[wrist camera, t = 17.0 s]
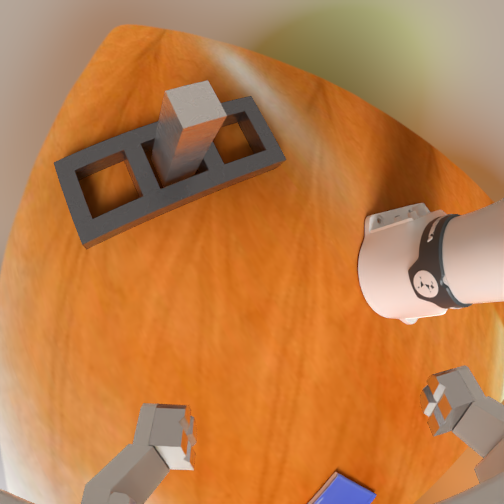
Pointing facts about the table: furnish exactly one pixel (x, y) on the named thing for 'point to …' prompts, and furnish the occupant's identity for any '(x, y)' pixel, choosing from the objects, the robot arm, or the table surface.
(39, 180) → the table surface
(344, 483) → the hard drive
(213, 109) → the post
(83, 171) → the dark grey flat frame
